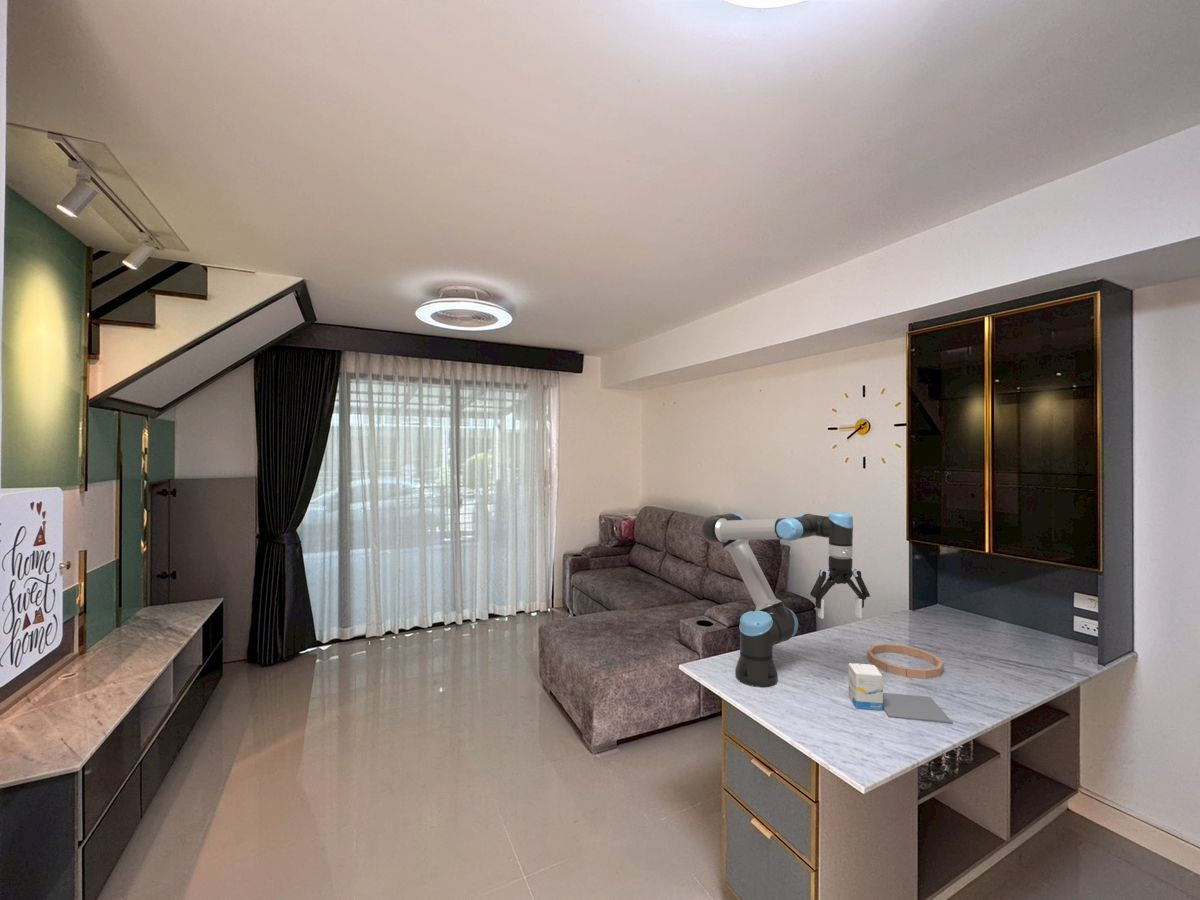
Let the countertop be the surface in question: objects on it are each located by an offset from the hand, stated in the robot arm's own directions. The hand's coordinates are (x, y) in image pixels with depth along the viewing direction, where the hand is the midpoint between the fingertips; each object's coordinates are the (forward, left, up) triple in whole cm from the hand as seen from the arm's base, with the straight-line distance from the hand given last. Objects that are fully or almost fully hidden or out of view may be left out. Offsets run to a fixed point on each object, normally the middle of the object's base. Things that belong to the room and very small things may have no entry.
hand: (839, 617), depth 173 cm
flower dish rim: (+30, +30, -27) cm, 50 cm away
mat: (+20, -6, -27) cm, 34 cm away
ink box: (+6, -6, -27) cm, 28 cm away
